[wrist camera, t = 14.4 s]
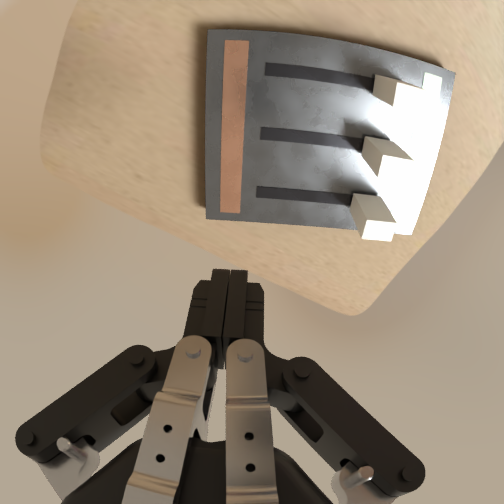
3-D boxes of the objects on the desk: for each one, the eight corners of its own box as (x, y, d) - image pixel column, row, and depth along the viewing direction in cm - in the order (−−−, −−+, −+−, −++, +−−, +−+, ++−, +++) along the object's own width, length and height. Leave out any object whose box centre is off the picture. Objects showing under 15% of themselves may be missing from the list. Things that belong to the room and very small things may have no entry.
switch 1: (353, 193, 30) (366, 219, 26) (380, 196, 30) (397, 223, 26) (349, 210, 31) (361, 238, 27) (376, 213, 31) (390, 241, 27)
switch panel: (211, 30, 23) (207, 29, 21) (445, 69, 23) (456, 73, 22) (208, 209, 34) (205, 219, 33) (405, 225, 35) (411, 235, 33)
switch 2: (375, 74, 23) (397, 82, 19) (405, 81, 23) (430, 91, 19) (372, 95, 24) (392, 106, 20) (402, 101, 24) (426, 115, 20)
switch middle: (365, 136, 26) (382, 154, 22) (394, 141, 26) (415, 160, 22) (361, 155, 28) (377, 177, 24) (389, 160, 28) (409, 182, 24)
